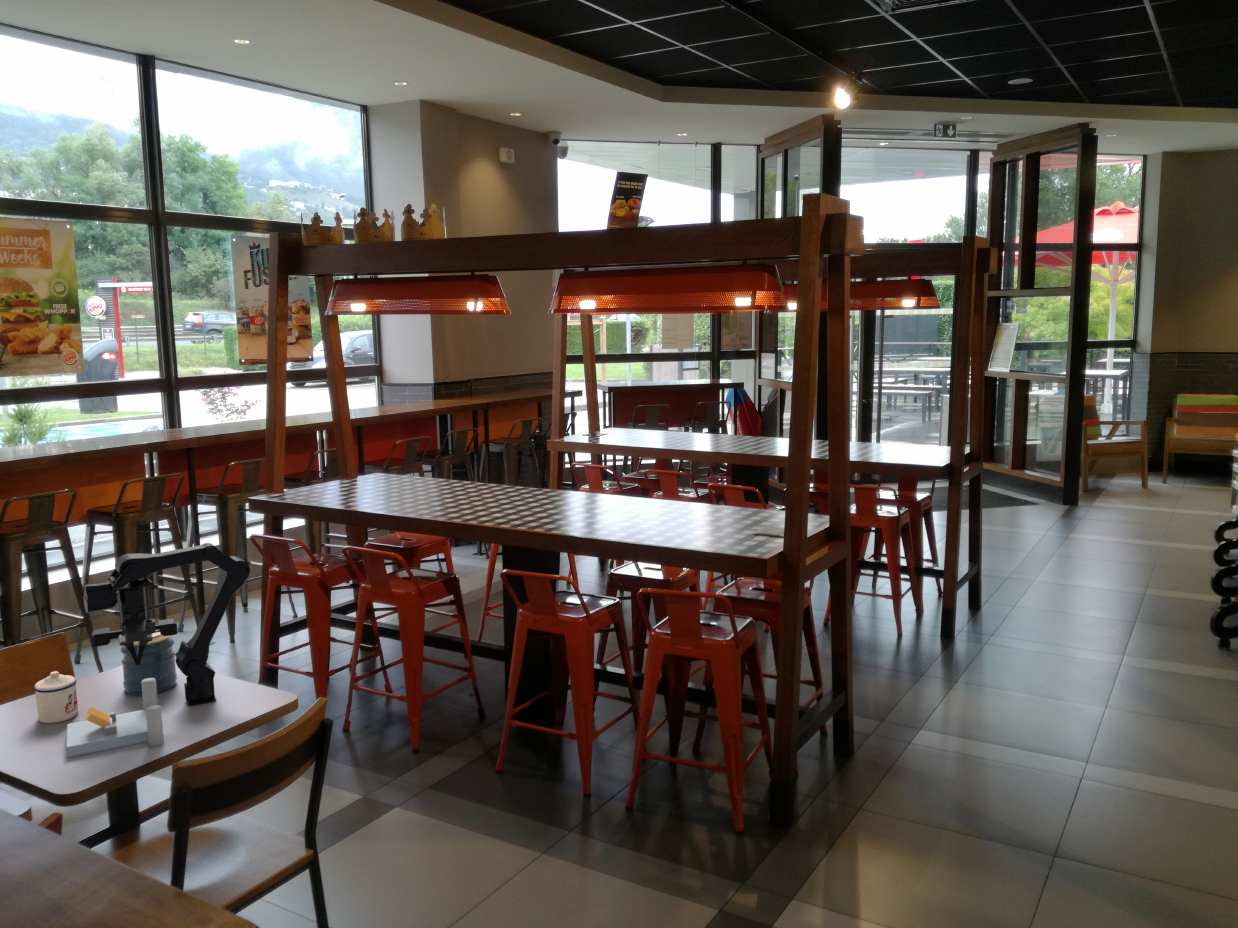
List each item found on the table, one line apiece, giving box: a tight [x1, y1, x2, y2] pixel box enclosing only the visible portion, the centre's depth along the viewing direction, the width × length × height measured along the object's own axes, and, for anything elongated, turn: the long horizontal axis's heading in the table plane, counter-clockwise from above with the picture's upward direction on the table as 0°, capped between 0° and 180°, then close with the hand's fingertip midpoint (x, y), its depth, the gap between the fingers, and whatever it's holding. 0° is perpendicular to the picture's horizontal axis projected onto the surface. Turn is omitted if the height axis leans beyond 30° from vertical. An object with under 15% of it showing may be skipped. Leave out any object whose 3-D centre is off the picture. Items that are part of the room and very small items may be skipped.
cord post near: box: [146, 704, 165, 748], centre depth 214 cm, size 3×3×9 cm
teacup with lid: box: [33, 670, 79, 724], centre depth 230 cm, size 12×9×12 cm
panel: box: [66, 709, 148, 758], centre depth 218 cm, size 18×14×4 cm
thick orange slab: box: [86, 706, 110, 728], centre depth 216 cm, size 2×5×5 cm
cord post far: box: [141, 678, 159, 710], centre depth 230 cm, size 3×3×9 cm
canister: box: [119, 632, 178, 696], centre depth 246 cm, size 13×13×18 cm
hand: (137, 664), depth 229 cm, fingers closed
